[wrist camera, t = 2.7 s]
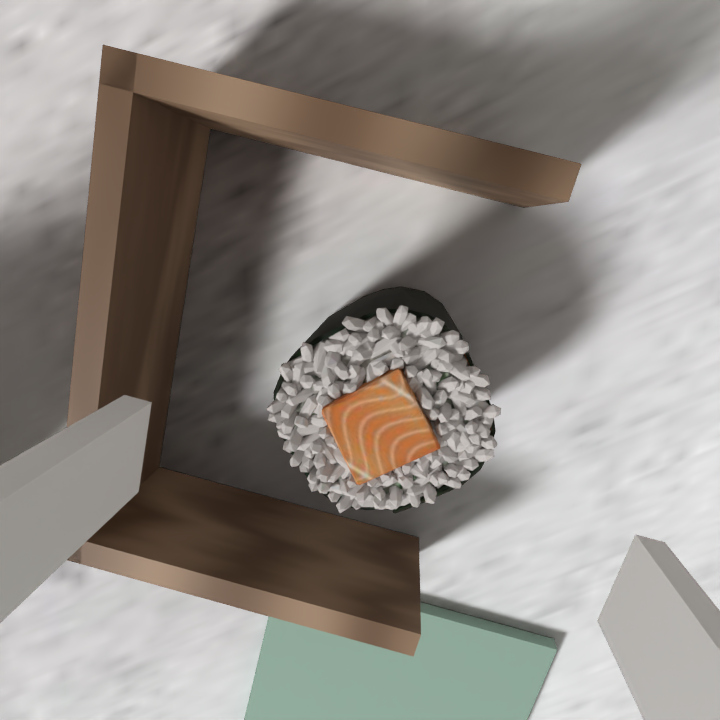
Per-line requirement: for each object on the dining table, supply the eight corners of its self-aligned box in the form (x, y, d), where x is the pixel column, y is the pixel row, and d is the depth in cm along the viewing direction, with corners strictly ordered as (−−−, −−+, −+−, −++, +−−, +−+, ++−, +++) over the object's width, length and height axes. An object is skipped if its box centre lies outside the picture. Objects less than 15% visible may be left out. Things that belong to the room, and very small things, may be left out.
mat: (282, 564, 30) (279, 573, 29) (553, 638, 29) (557, 649, 29) (234, 764, 34) (230, 776, 33) (470, 832, 34) (471, 846, 33)
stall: (136, 480, 29) (54, 556, 23) (189, 95, 24) (102, 44, 17) (412, 555, 29) (413, 656, 22) (532, 180, 23) (581, 163, 17)
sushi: (499, 399, 26) (537, 472, 19) (356, 465, 28) (335, 557, 20) (427, 256, 25) (435, 271, 17) (280, 335, 26) (227, 381, 19)
